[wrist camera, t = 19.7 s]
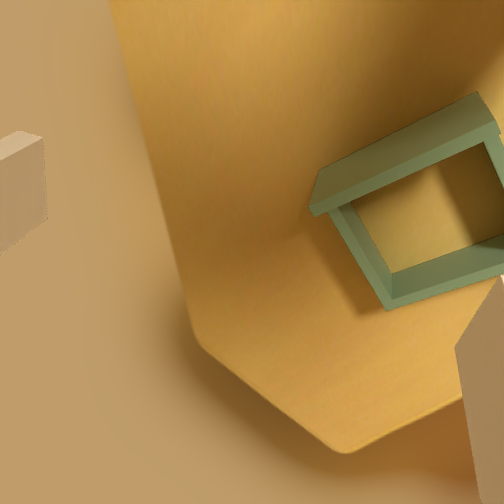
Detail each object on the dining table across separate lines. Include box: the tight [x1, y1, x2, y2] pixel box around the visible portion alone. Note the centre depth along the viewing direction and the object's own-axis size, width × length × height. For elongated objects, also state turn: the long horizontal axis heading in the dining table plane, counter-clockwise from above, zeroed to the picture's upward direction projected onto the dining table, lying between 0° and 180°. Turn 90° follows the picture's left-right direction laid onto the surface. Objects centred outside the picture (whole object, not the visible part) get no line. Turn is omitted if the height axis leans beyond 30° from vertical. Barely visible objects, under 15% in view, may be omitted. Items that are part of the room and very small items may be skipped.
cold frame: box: [308, 92, 504, 311], centre depth 46 cm, size 16×16×9 cm
